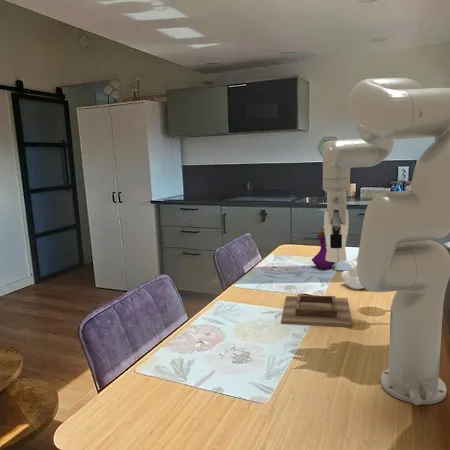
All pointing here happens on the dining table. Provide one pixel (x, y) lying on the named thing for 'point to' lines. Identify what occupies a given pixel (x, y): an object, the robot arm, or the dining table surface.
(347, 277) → the bust
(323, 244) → the perfume bottle
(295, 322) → the walnut stand
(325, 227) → the white piece
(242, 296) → the dining table surface
